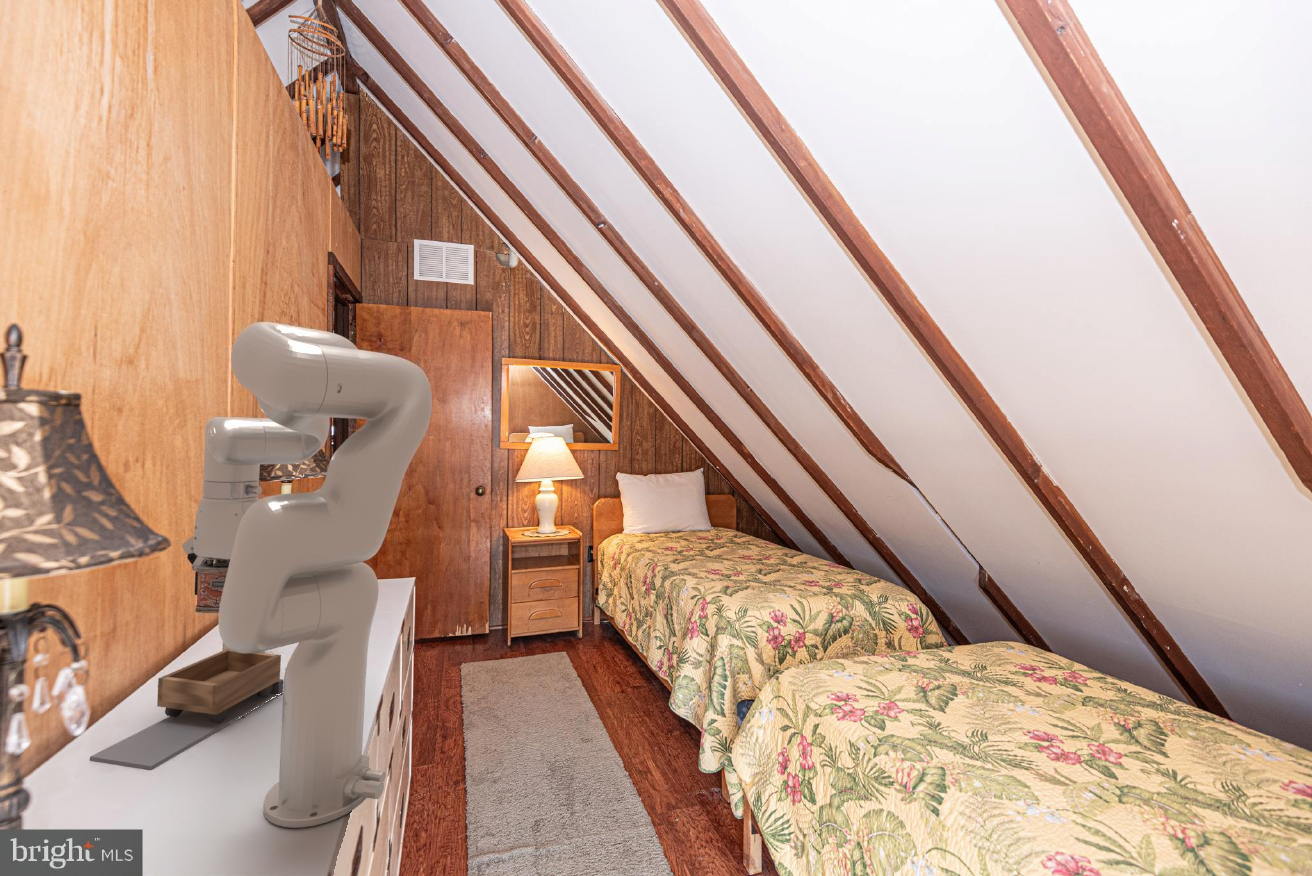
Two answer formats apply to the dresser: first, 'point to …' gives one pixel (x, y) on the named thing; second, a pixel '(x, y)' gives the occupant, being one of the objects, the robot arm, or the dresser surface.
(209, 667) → the cart
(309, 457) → the robot arm
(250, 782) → the dresser surface
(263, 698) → the track
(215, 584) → the lighter
